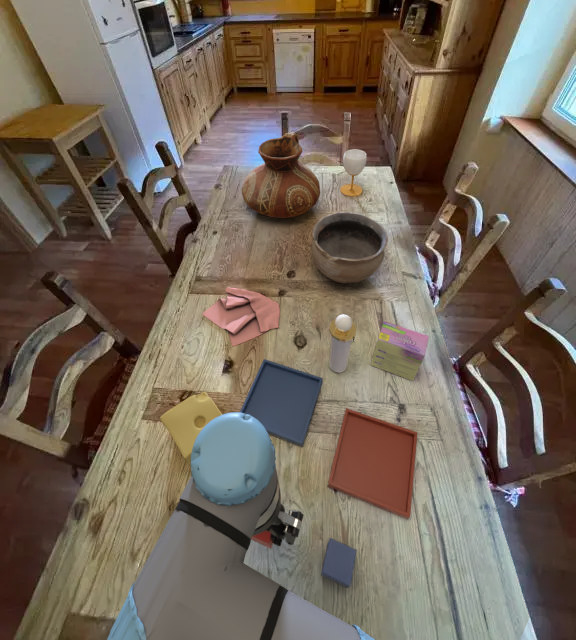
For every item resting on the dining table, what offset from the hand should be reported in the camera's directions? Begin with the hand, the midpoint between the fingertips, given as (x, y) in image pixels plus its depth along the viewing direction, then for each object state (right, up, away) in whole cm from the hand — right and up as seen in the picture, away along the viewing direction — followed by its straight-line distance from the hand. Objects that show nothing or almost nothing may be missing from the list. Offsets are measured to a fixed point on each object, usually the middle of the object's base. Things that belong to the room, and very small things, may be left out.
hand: (263, 527), depth 57 cm
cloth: (-9, +29, +41) cm, 51 cm away
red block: (0, 0, 0) cm, 0 cm away
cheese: (-14, +6, +17) cm, 23 cm away
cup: (+30, +72, +84) cm, 115 cm away
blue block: (+13, -8, +1) cm, 15 cm away
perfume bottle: (+17, +18, +28) cm, 37 cm away
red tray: (+22, +4, +13) cm, 25 cm away
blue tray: (+3, +12, +22) cm, 25 cm away
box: (+30, +18, +28) cm, 45 cm away
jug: (+2, +66, +78) cm, 102 cm away
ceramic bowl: (+22, +41, +52) cm, 70 cm away
